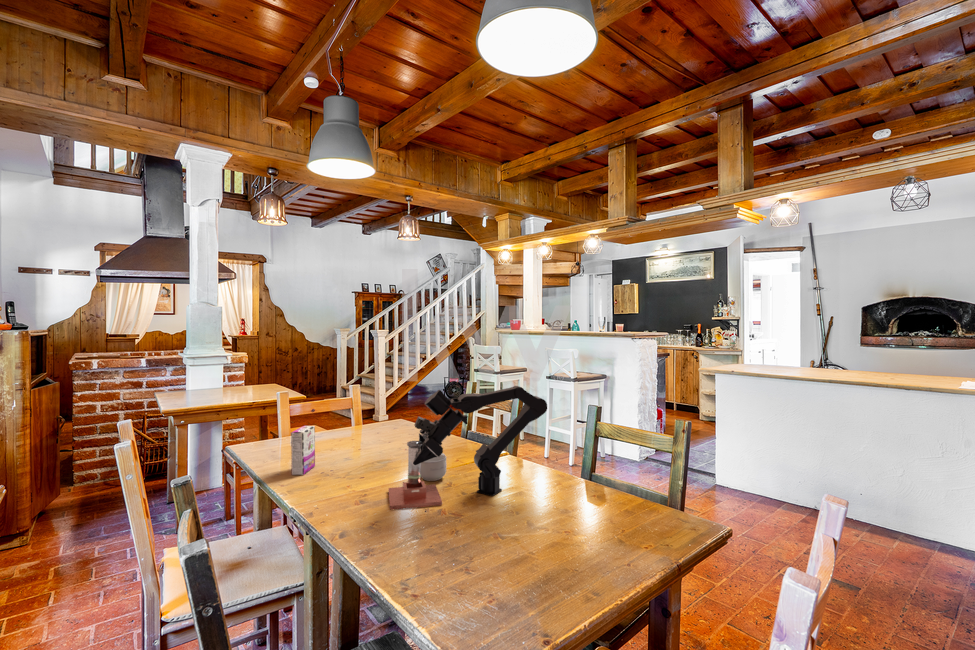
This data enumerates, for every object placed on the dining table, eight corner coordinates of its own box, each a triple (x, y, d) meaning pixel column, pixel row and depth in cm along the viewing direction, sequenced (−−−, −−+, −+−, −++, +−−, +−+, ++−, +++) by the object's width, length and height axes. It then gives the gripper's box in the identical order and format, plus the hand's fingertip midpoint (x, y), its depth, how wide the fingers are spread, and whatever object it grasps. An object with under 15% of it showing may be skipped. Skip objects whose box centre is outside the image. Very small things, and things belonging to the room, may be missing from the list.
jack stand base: (435, 487, 158) (435, 475, 158) (441, 505, 143) (442, 491, 143) (388, 491, 154) (388, 479, 154) (390, 509, 139) (390, 496, 139)
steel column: (420, 479, 151) (421, 440, 151) (422, 484, 147) (422, 443, 147) (406, 480, 150) (406, 441, 150) (407, 485, 146) (407, 444, 146)
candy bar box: (303, 466, 182) (303, 425, 182) (315, 466, 182) (315, 425, 182) (290, 475, 170) (290, 431, 171) (303, 475, 170) (303, 432, 170)
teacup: (432, 485, 160) (432, 463, 160) (410, 479, 167) (411, 457, 167) (457, 475, 171) (458, 454, 172) (437, 470, 178) (437, 449, 178)
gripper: (426, 403, 159) (393, 437, 156) (432, 413, 141) (396, 451, 138) (448, 425, 161) (416, 458, 158) (457, 437, 143) (422, 475, 140)
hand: (412, 460), depth 148 cm, fingers open, 9 cm apart
